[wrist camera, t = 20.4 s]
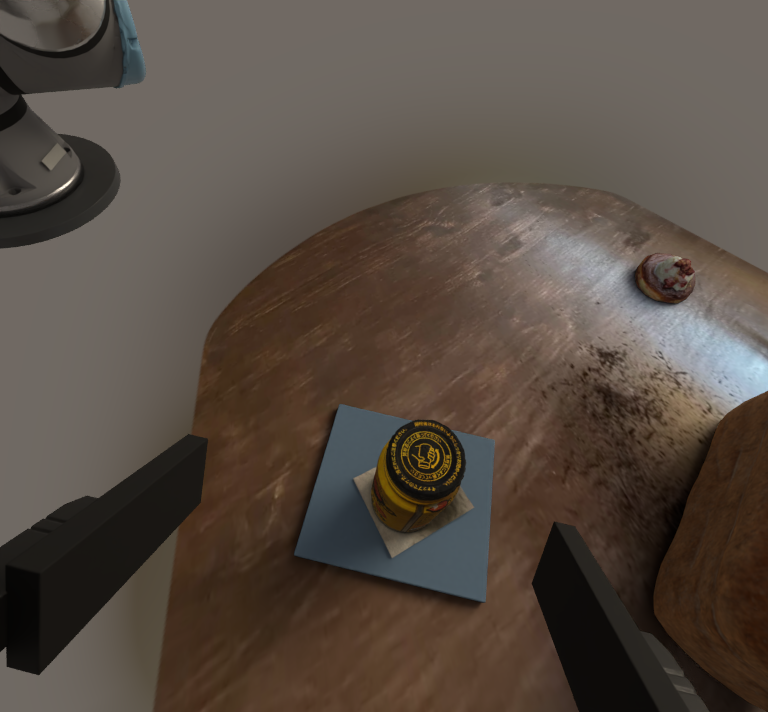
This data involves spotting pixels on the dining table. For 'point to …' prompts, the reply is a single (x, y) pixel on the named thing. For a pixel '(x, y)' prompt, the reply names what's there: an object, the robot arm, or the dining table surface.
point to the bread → (724, 559)
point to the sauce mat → (359, 532)
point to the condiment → (415, 484)
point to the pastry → (665, 277)
